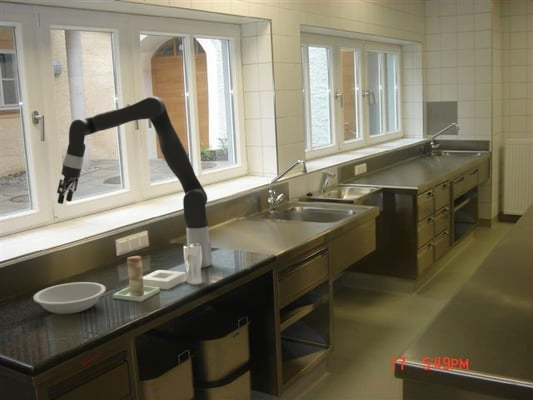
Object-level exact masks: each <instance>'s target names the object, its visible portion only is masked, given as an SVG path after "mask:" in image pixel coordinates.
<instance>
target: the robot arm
mask: <svg viewBox="0 0 533 400" xmlns="http://www.w3.org/2000/svg"><path fill="white" fill-rule="evenodd" d="M139 120H141V121H142V120H149V121H150V123H151V125H152V126H153V128H154V130H155V132H156V135H157V140H158V144H159V147H160V148H159V149H160V151H161V154H162V155H163V158H164V160H165V162H166V164H167V166H168V168H169V169H170V171H171V172H172V173H173V175H175V177H176V179H177V180H178V181H179V182H180V185H181V187H182V189H183V192H184V194H185V195H184V196H183V201H182V202H183V215H184V217H183V218H184V223H185V230H186V243H187V244H193V243H196V244H200V245H201V251H202V265H201V269H203V268H207V267H209V266H212V265H213V260H212V259H213V257H212V256H213V255H212V243H211V242H210V240H209V223H208V221H209V220H208V218H207V211H206V210H207V209H206V205H207V202H208V195H207V193H206V190H205V189H204V187H203V186H202V185H201V182H200V181H199V179H198V177H197V176H196V172H195V170H194V168H193V165H192V163H191V160H190V158H189V156H188V154H187V151H186V149H185V147H184V145H183V143H182V141H181V139H180V137H179V135H178V133H177V132H176V130H175V129H174V126H173V124H172V122H171V119H170V117H169V114H168V111H167V107H166V105H165V103H164V101H163V100H162V98H160V97H158V96H147V97H145V98H144V99H141V100H140V101H138V102H134V103H133V104H131V105H128V106H124V107H121V108H120V107H119V108H116V109H112V110H108V111H104V112H100V113H97V114H95V115H93V116H90V117H86V118H78V119H77V118H76V119H74V120H73V121H72V122H71V123H70V124H69V125H70V126H69V130H68V146H67V149H66V154H65V157H64V159H63V160H64V161H63V165H62V169H61V175H62V176H64V178H63V179H61V178H60V179H59V182H58V186H57V192H56V194H58V198H57V204H60V205H63V204H64V200H66V201H67V202H72V200H73V196H74V194H75V192H77V188H78V184H79V178H80V177H81V173H82V167H83V163H84V156H85V152H86V144H85V139H86V136H89V135H93V134H95V133H98V132H102V131H105V130H109V129H112V128H113V129H114V128H117V127H119V126H121V125H125V124H126V123H130V122H134V121H135V122H136V121H139ZM65 197H66V198H65Z"/></svg>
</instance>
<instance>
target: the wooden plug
mask: <svg viewBox="0 0 533 400" xmlns="http://www.w3.org/2000/svg"><path fill="white" fill-rule="evenodd" d="M126 259H127V260H126V262H127V272H128V285H129V286H128V287H130V296H142V295H144V287H143V277H144V275H143V262H142V256H140V255H134V256H133V255H132V256H129V257H127V258H126Z"/></svg>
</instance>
